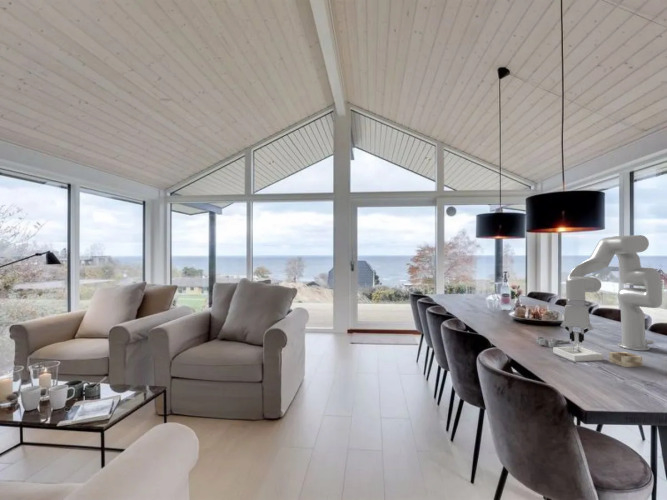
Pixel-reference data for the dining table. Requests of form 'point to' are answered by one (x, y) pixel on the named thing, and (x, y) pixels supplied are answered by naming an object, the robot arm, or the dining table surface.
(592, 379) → the dining table surface
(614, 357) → the tan hollow square block
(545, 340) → the pulley system
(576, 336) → the pin
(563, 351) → the tray
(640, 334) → the robot arm
